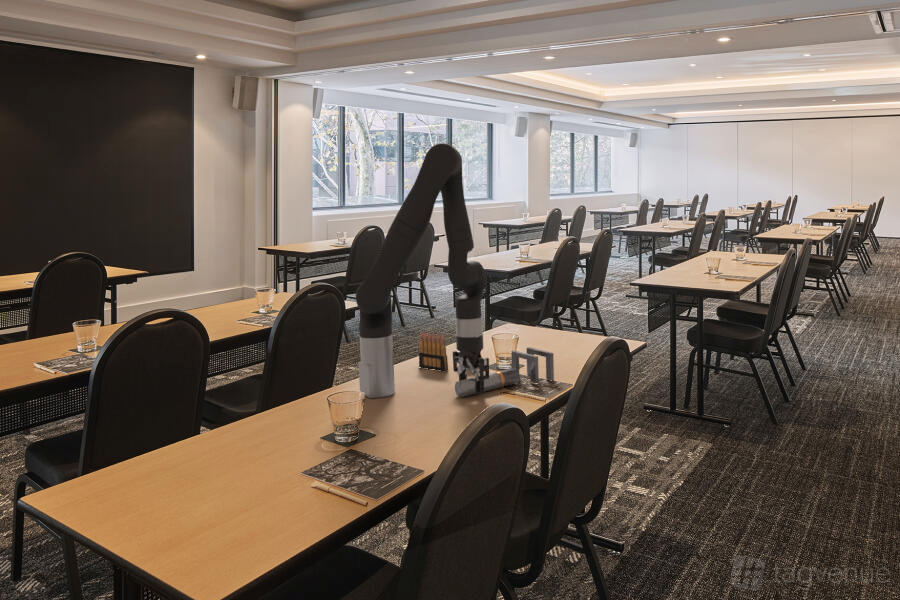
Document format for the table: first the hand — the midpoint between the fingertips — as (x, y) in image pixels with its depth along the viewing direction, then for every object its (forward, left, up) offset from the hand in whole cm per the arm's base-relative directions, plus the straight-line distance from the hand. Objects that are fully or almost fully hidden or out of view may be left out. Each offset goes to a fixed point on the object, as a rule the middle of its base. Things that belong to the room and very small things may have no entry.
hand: (471, 390), depth 208 cm
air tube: (+6, 0, -1) cm, 6 cm away
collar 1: (+20, 0, -1) cm, 20 cm away
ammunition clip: (+8, +31, -1) cm, 32 cm away
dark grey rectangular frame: (+26, 0, -1) cm, 26 cm away
